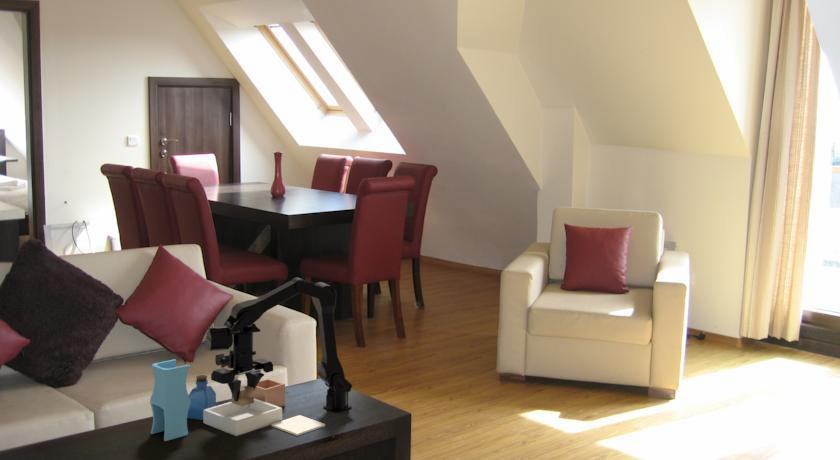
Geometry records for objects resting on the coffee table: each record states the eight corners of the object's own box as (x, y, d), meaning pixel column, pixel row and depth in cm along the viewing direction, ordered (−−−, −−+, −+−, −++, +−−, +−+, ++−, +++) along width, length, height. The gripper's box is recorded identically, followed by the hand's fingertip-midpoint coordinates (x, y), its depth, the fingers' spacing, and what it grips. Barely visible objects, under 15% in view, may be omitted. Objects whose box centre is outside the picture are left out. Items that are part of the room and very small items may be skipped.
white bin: (249, 408, 267) (249, 396, 266) (282, 421, 258) (282, 408, 257) (203, 422, 254) (203, 409, 253) (236, 436, 245) (236, 422, 244)
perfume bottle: (206, 420, 257) (206, 380, 255) (187, 418, 258) (187, 378, 256) (215, 413, 263) (215, 374, 261) (196, 411, 264) (196, 372, 262)
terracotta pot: (267, 399, 276) (268, 378, 275) (284, 405, 271) (285, 384, 270) (247, 405, 270) (248, 384, 269) (264, 412, 265) (265, 389, 264)
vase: (190, 434, 245) (190, 365, 242) (165, 441, 239) (164, 370, 237) (175, 426, 250) (174, 359, 248) (150, 433, 245) (149, 364, 242)
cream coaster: (299, 416, 262) (299, 414, 261) (325, 426, 255) (325, 424, 255) (271, 426, 253) (271, 424, 253) (297, 435, 246) (297, 433, 246)
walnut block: (243, 399, 258) (243, 384, 258) (253, 402, 255) (253, 387, 255) (231, 402, 255) (231, 387, 254) (241, 406, 252) (241, 391, 251)
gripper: (250, 336, 265) (250, 386, 267) (199, 348, 251) (199, 400, 253) (274, 343, 258) (274, 394, 260) (223, 355, 244) (223, 409, 246)
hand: (242, 399), depth 255 cm, fingers closed on walnut block, 4 cm apart
